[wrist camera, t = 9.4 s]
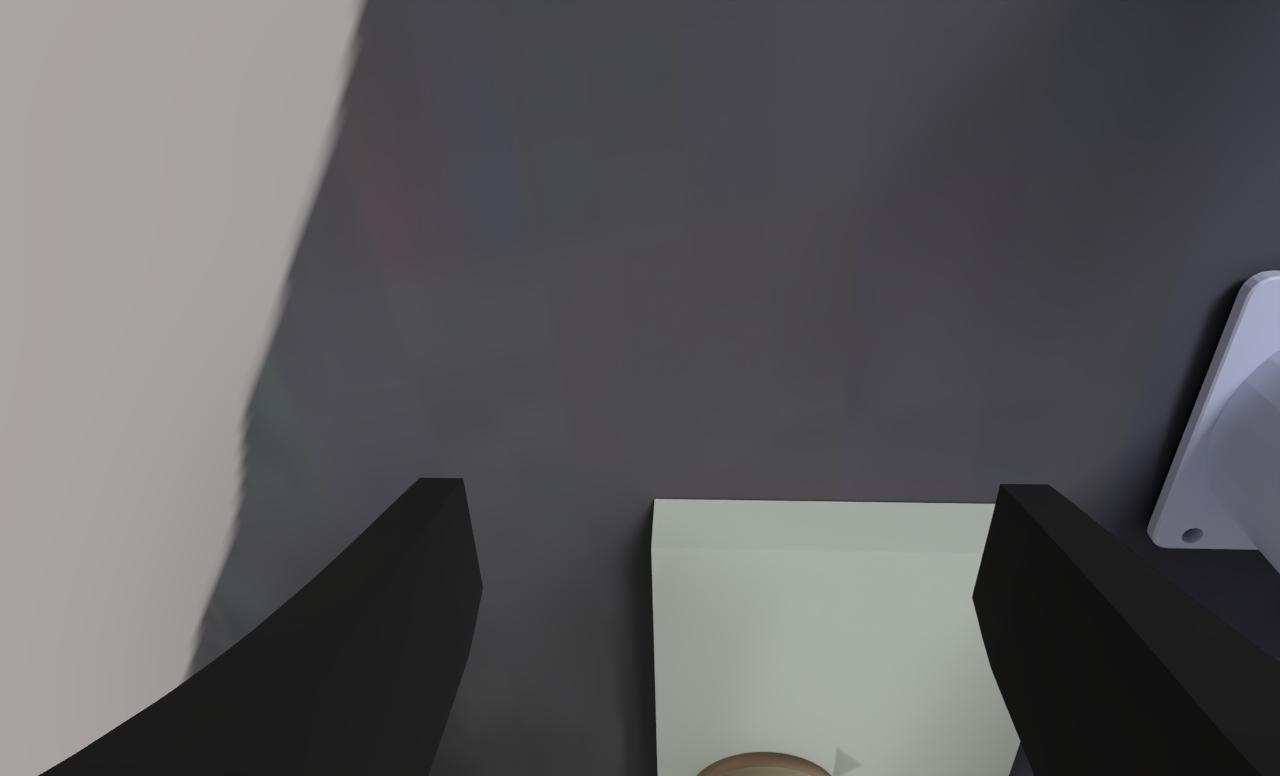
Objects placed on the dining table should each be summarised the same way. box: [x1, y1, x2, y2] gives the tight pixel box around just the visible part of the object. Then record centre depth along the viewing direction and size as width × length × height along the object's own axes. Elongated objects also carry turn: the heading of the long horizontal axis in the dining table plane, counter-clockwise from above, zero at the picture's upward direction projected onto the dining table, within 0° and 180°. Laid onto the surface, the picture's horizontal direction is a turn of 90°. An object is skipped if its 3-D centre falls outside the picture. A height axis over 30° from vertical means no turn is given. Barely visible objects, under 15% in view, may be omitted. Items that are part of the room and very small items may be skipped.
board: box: [651, 499, 1021, 776], centre depth 26 cm, size 11×18×2 cm, turn 1°
